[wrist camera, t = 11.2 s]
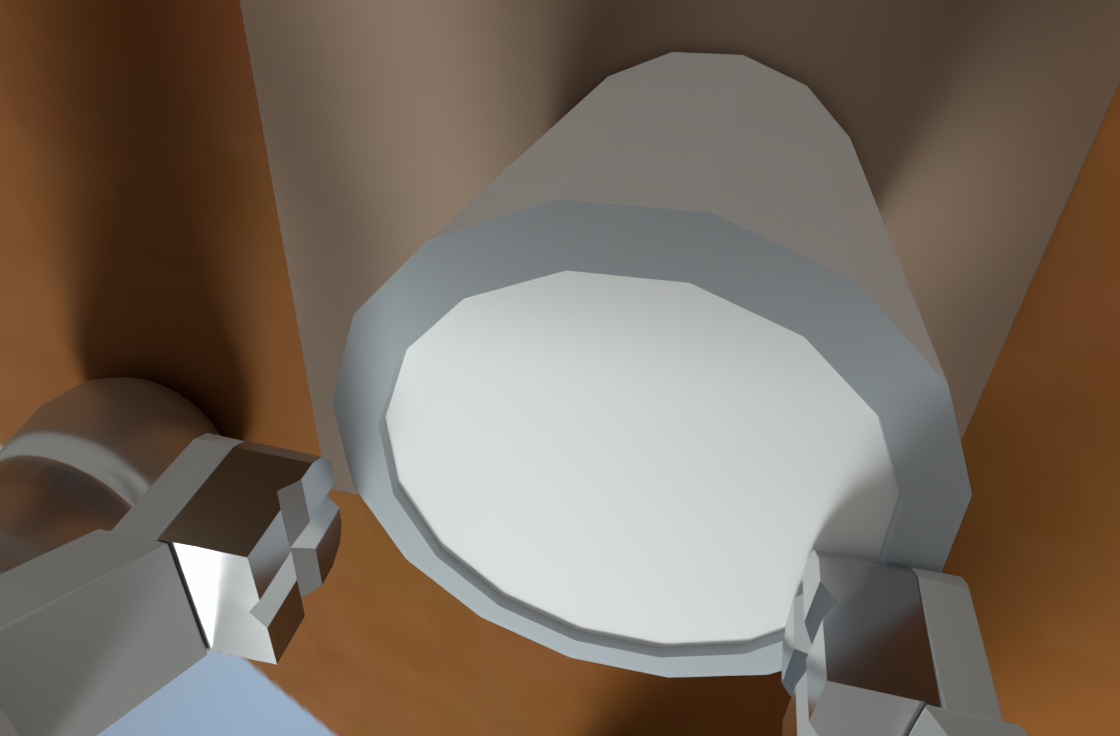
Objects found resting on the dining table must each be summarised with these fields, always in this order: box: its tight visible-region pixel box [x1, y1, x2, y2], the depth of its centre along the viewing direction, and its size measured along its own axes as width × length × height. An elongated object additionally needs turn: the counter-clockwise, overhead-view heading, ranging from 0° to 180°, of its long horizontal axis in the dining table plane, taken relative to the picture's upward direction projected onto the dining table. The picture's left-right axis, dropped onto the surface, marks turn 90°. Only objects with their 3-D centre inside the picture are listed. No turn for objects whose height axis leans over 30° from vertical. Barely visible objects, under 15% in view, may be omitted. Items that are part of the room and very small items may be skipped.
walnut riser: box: [239, 0, 1120, 495], centre depth 17 cm, size 14×14×5 cm
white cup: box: [332, 52, 972, 678], centre depth 11 cm, size 7×7×7 cm
